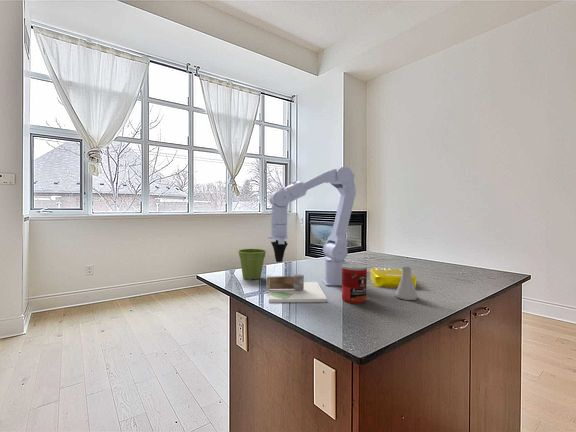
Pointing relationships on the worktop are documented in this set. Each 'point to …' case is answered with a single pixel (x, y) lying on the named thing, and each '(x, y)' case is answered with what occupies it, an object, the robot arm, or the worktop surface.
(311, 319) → the worktop surface
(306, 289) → the dial plate
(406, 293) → the flask
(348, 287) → the canned food
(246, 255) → the plant pot
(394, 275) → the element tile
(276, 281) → the brown bar
